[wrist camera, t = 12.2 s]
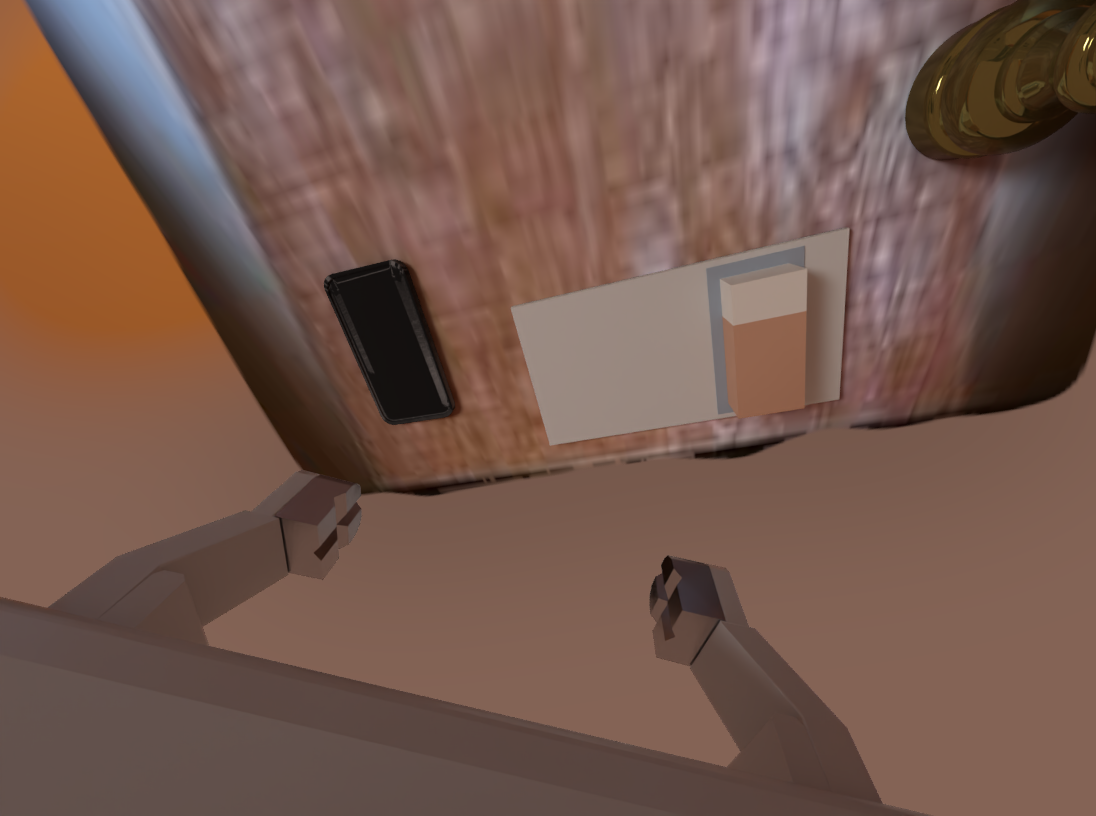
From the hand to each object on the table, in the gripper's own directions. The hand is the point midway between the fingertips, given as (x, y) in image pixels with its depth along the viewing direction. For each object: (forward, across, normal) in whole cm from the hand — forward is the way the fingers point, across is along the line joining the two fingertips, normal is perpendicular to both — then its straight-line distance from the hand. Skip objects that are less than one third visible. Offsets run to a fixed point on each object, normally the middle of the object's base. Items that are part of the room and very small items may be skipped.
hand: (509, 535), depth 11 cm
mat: (+27, -10, +2) cm, 29 cm away
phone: (+27, +15, +8) cm, 32 cm away
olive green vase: (+28, -22, -18) cm, 40 cm away
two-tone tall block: (+26, -16, -1) cm, 30 cm away
